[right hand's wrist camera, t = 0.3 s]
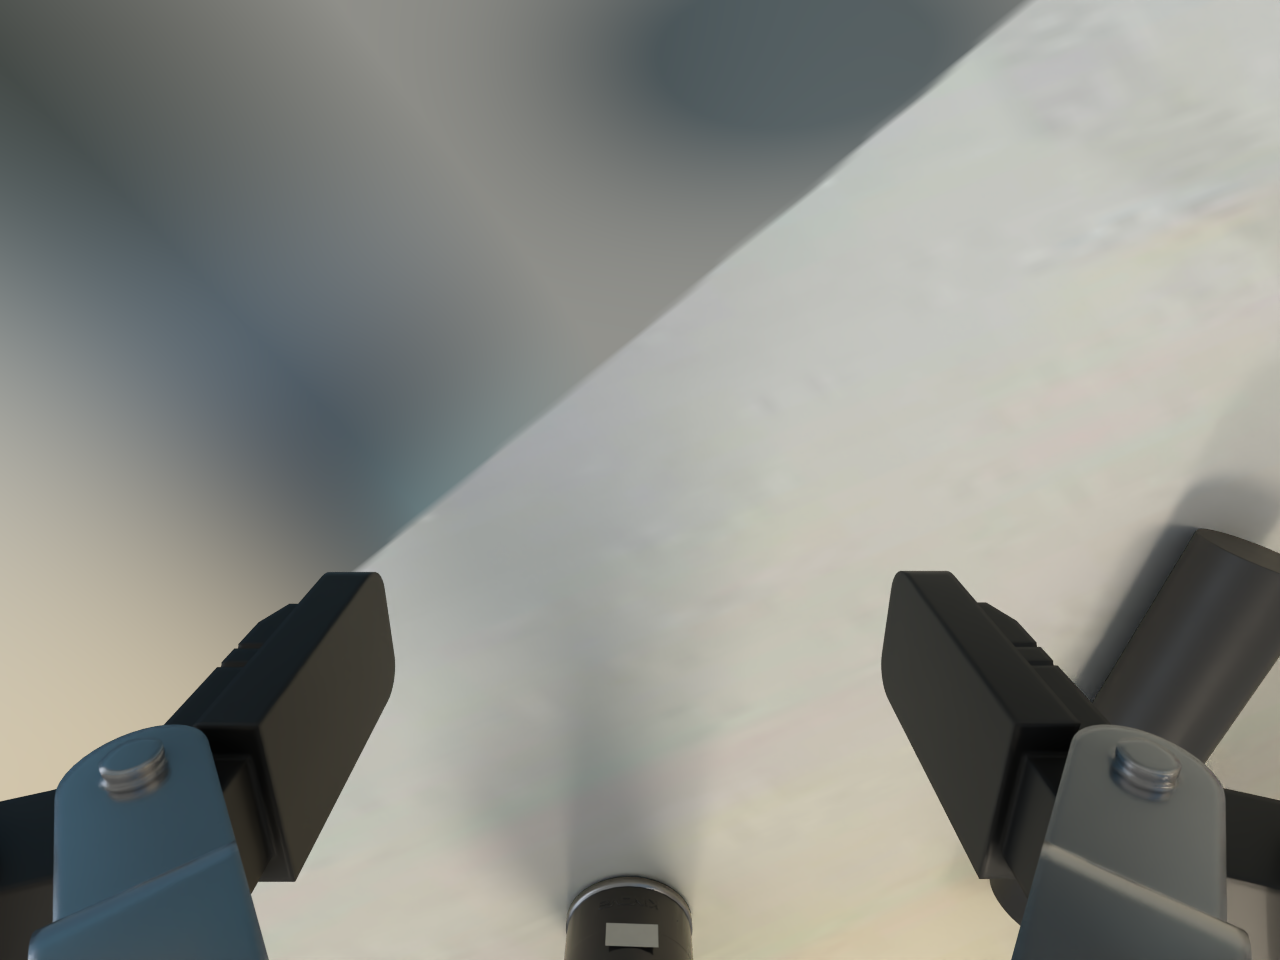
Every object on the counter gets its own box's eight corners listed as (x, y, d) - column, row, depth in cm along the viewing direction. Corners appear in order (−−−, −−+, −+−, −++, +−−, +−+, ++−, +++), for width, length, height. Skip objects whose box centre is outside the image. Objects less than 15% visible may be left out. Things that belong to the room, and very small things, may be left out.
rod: (1172, 519, 42) (1256, 568, 36) (1264, 543, 42) (1361, 595, 37) (974, 856, 51) (1015, 937, 46) (1051, 872, 52) (1101, 954, 46)
